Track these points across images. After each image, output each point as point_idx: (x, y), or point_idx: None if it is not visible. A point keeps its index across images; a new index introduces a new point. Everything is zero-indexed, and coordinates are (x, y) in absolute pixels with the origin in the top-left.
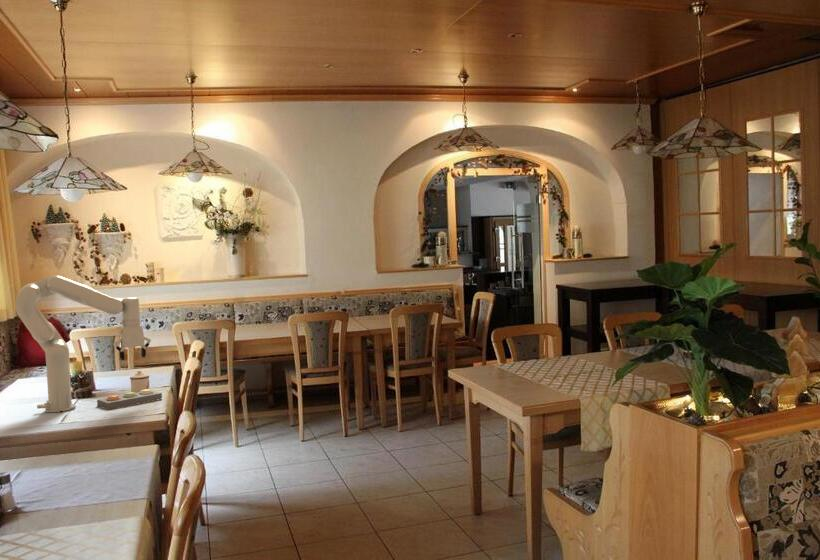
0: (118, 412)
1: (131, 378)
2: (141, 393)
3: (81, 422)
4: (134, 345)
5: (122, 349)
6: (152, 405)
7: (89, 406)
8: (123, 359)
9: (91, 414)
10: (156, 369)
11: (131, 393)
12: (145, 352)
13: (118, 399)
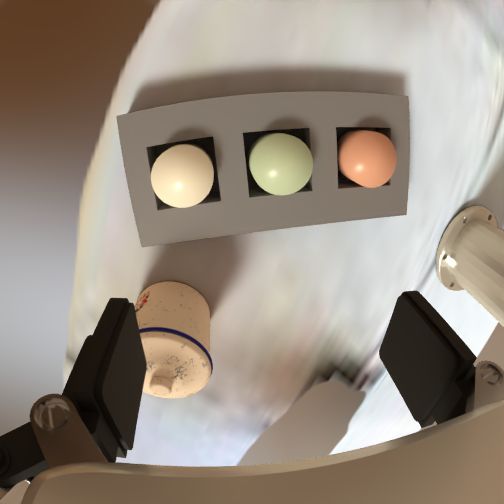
0: (379, 14)
1: (210, 358)
2: (212, 165)
3: (483, 16)
4: (360, 479)
5: (490, 390)
6: (217, 11)
7: (410, 221)
8: (414, 291)
9: (450, 80)
10: None
11: (279, 147)
12: (80, 361)
13: (347, 137)
